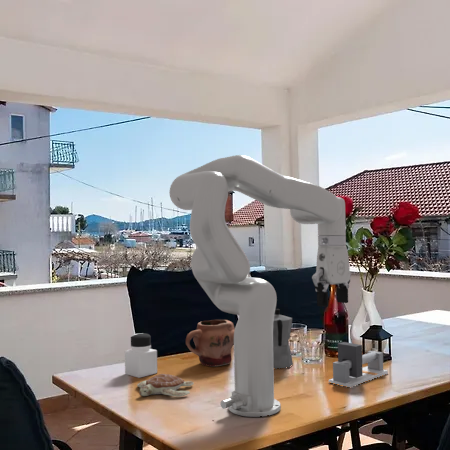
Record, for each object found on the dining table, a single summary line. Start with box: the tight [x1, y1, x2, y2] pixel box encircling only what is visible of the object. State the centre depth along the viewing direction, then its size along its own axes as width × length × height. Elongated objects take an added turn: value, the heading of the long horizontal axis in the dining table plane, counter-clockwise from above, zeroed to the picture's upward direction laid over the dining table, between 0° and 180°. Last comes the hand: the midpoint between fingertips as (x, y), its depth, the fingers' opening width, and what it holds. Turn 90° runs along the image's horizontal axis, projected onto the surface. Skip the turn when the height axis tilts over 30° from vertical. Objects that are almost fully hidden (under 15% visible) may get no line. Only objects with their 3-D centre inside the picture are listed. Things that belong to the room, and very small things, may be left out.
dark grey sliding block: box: [337, 341, 363, 378], centre depth 152 cm, size 3×6×9 cm, turn 44°
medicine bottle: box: [124, 332, 158, 379], centre depth 164 cm, size 7×7×12 cm
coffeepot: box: [273, 308, 294, 370], centre depth 170 cm, size 15×9×18 cm, turn 179°
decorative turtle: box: [136, 373, 195, 398], centre depth 146 cm, size 18×17×5 cm
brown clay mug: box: [185, 319, 235, 367], centre depth 173 cm, size 20×12×14 cm, turn 134°
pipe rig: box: [328, 350, 389, 388], centre depth 155 cm, size 20×7×6 cm, turn 134°
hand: (332, 304), depth 148 cm, fingers open, 9 cm apart
